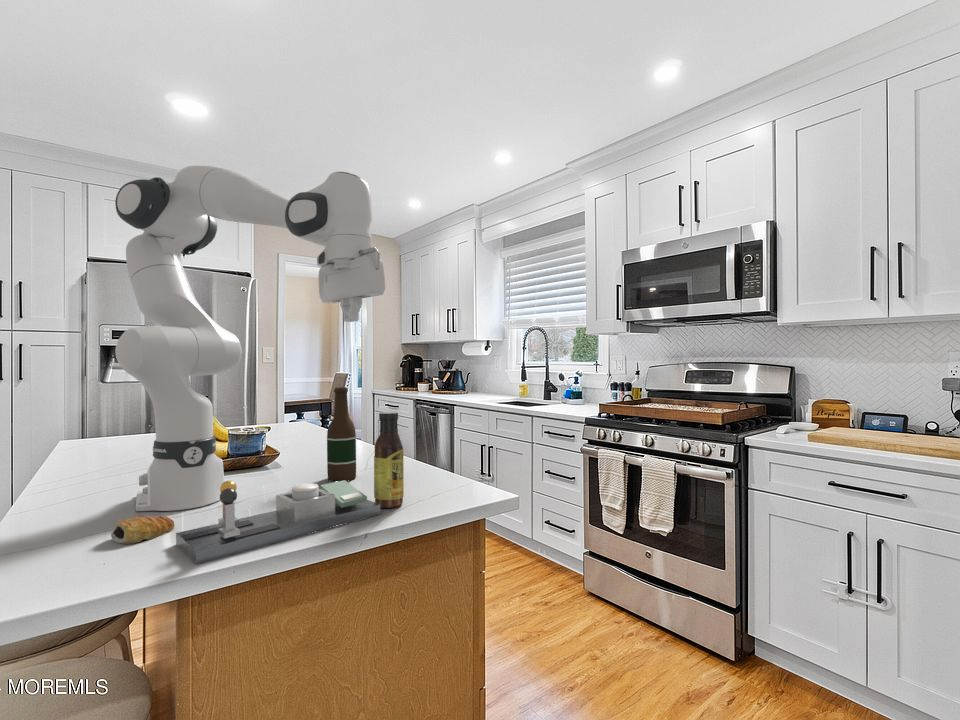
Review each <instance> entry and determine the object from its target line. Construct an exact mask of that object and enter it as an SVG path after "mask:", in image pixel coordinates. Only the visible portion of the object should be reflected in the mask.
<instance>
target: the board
mask: <svg viewBox="0 0 960 720" xmlns="http://www.w3.org/2000/svg"><path fill="white" fill-rule="evenodd" d="M318 489H319V497H314V498H310V499H305V500H301V501H296V500H293V499H292V491H290V492H286V493H279V494H276V495H275V507H276V508H275V509H276V510H272V511H268V512H265V513H260V514H259V513H258V514H255V515H250V516H246V517H242V518H238V519H239V525H235V527H236V528H238V529H240V535H237V536H232V537H228V538H223V537H222V536H220V535H219V534H218V529H219V528H223V526H222V525H220V524H219V522H218V523H216V524H215V523H214V524H210V525H206V526H201V527H196V528H193V529H189V530H188V529H187V530H185V531H177V532H175V542H176V543H175V545H176V546H177V547H178V548H179V549H180V550H181V551H182V552H183V553H184V554H185V555H186V556H187V557H188V558H190V559H191V560H192V561H193V562H194V563H195V564H196V565H198V564H202V563H205V562H209V561H214V560H216V559H219V558H225V557H228V556H232V555H235V554H238V553H243V552H246V551H250V550H254V549H257V548H261V547H265V546H268V545H272V544H276V543H278V542H280V543H281V542H282V541H283V542H284V541H287V540H291V539H295V538H298V536H299V537H302V536H306V535H309V534H308V533H310V534H313V533H316V532H315V531H317V532H320V530H321V531H324V529H325V530H327V529H326V528H328V529H331V528H330V527H332V528H334V527H333V526H336V525H339V526H341V525H340V524H343V525H346V524H345V523H347V524H349V522H351V523H354V522H358V521H361V519H362V520H365V519H369V518H372V517H371V516H373V517H376V516H379V514H380V515H381V508H380V504H377V503H375V501H372V500H369V499H367V502H363V503H359V504H355V505H351V506H346V507H342V508H341V507H340V506H339V505H338V504H336V503H335V494H332V493H329V492H327V491H324V490H322V489H320V487H318ZM368 517H369V518H368ZM364 518H365V519H364ZM357 520H358V521H357ZM353 521H354V522H353ZM336 527H337V526H336ZM312 532H313V533H312ZM305 534H306V535H305Z"/></svg>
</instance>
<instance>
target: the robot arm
mask: <svg viewBox="0 0 960 720" xmlns="http://www.w3.org/2000/svg"><path fill="white" fill-rule="evenodd" d="M115 210H116V211H115V212H116V214H117V215H118V217H119V218H120V219H121V220H122V221H123V222H125V223H126V224H128V225H130V226H131V227H132V228H135V229H137V230H140V231H141V230H142V231H143V233H141V234H138V235H135V236H134V237H132V238H131V239H130V240H129V241H128V242H127V243H126V246H125V258H126V259H125V261H126V268H127V272H128V278H129V280H130V283H131V287H132V290H133V292H134V297H135V299H136V302H137V306H138V308H139V311H140V312H141V314H143V315H144V317H145V318H147V319H148V320H150V321H151V322H154V323H155V324H158V325H147V326H138V327H134V328H133V327H132V328H128V329H126V330H125V331H124V332H123V333H122V334H121V335H120V337H119V338H118V340H117V342H116V345H115V357H116V361H117V362H118V365H119V366H120V368H121V369H122V370H123V371H124V372H126V374H128V375H131V376H132V377H133V378H134V379H135V380H136V381H138V382H139V383H140V384H141V385H142V387H144V389H145V391H146V392H147V393H148V396H149V397H150V400H151V403H152V407H153V413H154V414H153V415H154V424H155V425H154V427H155V440H154V441H153V445H152V457H153V459H152V462H151V464H150V465H149V467H148V469H147V473H143V474H141V475H139V476H138V486H139V487H143V486H147V487H143V488H142V490H141V491H137V492H136V498H135V499H136V500H135V501H136V502H135V511H136V512H145V511H146V512H147V511H148V512H149V511H158V512H160V511H161V512H165V511H167V512H168V511H169V512H170V511H171V512H172V511H180V510H187V509H188V510H189V509H194V508H195V509H196V508H199V507H203V506H208V505H210V504H214V503H216V502H218V501H220V493H221V491H220V487H221V485H222V483H224V482H225V475H224V461H223V459H222V458H221V457H219V456H217V455H216V453H215V452H216V451H217V447H216V446H217V441H216V436H215V435H214V407H213V404H212V402H211V400H210V399H209V398H208V397H206V396H205V395H203V394H201V393H199V392H196V391H195V390H194V389H193V387H192V386H191V382H190V379H189V377H192V376H194V377H197V376H214V375H218V374H223V373H227V372H230V371H232V370H234V369H236V368H237V366H238V365H239V364H240V361H241V359H242V354H243V353H242V352H243V351H242V345H241V342H240V340H239V338H238V337H237V336H236V335H235V334H234V333H233V332H231V331H229V330H227V329H225V328H224V327H222V326H221V325H219V324H218V323H217V322H216V321H215V320H214V319H213V318H211V316H210V315H209V314H207V312H206V311H205V310H204V309H203V307H202V306H201V305H200V304H199V302H198V300H197V299H196V297H195V294H194V292H193V289H192V288H191V285H190V282H189V279H188V276H187V274H186V271H185V269H184V266H183V264H182V260H181V259H182V258H181V254H182V255H186V256H187V255H188V256H190V255H193V254H195V253H196V252H197V251H199V250H202V249H204V248H206V247H208V246H209V244H211V243H212V242H213V240H214V239H215V237H216V235H217V231H218V222H217V219H218V220H222V221H226V222H234V223H242V224H251V225H252V224H253V225H261V226H269V227H278V228H283V229H284V228H285V229H287V230H288V231H289V232H290V234H292V235H293V236H295V237H298V238H299V239H301V240H305V241H308V242H310V243H313V244H316V245H319V246H322V247H324V248H323V250H322V251H321V252H320V253H319V255H317V257H316V265H317V266H318V267H320V268H319V270H318V293H319V294H318V295H319V298H320V300H321V302H322V303H328V304H330V303H331V304H337V303H339V305H340V308H341V311H342V313H343V321H344V322H347V323H352V322H354V323H355V322H358V321H359V320H360V319H359V317H360V314H359V313H360V310H361V308H362V305H363V299H367V298H373V297H379V296H382V295H384V293H385V290H386V280H385V279H386V278H385V270H384V264H383V260H382V259H381V252H379V250H378V249H377V248H376V247H374V246H373V237H372V234H371V224H372V222H373V221H372V220H373V219H372V218H373V216H372V215H373V213H372V212H373V211H372V198H371V191H370V188H369V185H368V182H366V180H364V179H363V178H361V177H360V176H359V175H356V174H353V173H350V172H346V171H335V172H331V173H330V174H329V175H328V176H327V178H326V179H325V180H324V181H323V183H321V184H319V185H318V186H316V187H313V188H312V189H310V190H307V191H301V192H298V193H296V194H294V195H293V196H292V197H291V198H290V199H287V198H284V197H283V196H282V195H279V194H277V193H275V192H273V190H271V189H268V188H266V187H264V186H263V185H261V184H259V182H256V181H254V180H253V179H250V178H249V177H247V176H245V175H242V174H240V173H238V172H235V171H232V170H229V169H227V168H222V167H218V166H211V165H188V166H185V167H184V168H181V169H180V170H179V172H178V173H177V174H176V176H175V179H174V180H173V181H172V182H168V183H167V182H166V181H165V180H164V179H163V178H162V177H157V176H156V177H151V178H150V179H142V178H141V179H135V180H131V181H129V182H127V183H125V184H123V185H122V186H121V187H120V188H119V190H118V192H117V193H116V197H115Z"/></svg>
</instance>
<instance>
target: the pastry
mask: <svg viewBox="0 0 960 720" xmlns="http://www.w3.org/2000/svg"><path fill="white" fill-rule="evenodd" d="M174 529H175V521H174V520H173V519H172V518H170V517H167V516H165V515H160V516H158V517H157V516H155V515H149V516H148V515H147V516H142V515H139V516H136V517H132V518H128V519H124V520H120V521H117V522H115V523H114V526H113V528H112V530H111V533H110V537H111V538H112V541H113V542H114V541H115V542H114V543H118V542H120V543H119V544H124V545H130V544H131V545H133V543H134V544H136V543H140V542H142V541H143V540H151V539H152V540H153V539H154V538H158V537H160V536H163V535H165V534H168V533H169V532H171V531H172V530H174Z"/></svg>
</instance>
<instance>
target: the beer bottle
mask: <svg viewBox="0 0 960 720" xmlns="http://www.w3.org/2000/svg"><path fill="white" fill-rule="evenodd" d="M333 392H334V410H333V411H334V412H333V418H332V420H331V421H330V423H329V425H328V428H327V431H326V432H327V433H326V451H327V452H326V460H327V462H326V463H327V464H326V466H327V467H326V468H327V471H326V472H327V479H328V481H329V480H331V481H330V482H334V481H343V480H345V481H347V482H349V481H351V480H352V479H353V480H355V479H356V477H357V440H356V439H357V434H356V426H355V424H354V421H352V418H350V414H349V404H348V403H349V402H348V392H349V390H348V387H347V386H338V387H334V390H333ZM348 480H349V481H348Z"/></svg>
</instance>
